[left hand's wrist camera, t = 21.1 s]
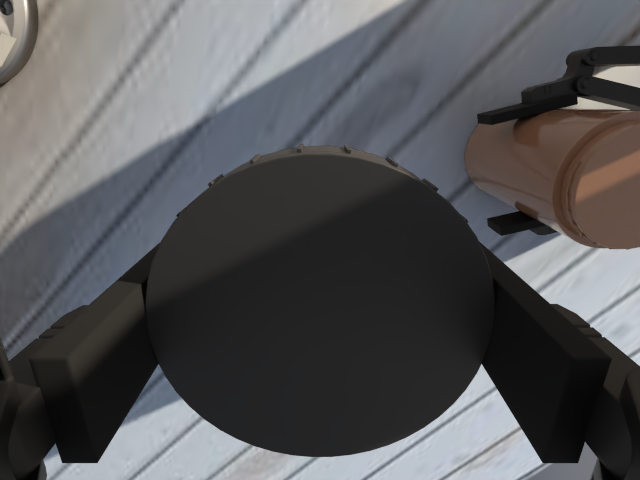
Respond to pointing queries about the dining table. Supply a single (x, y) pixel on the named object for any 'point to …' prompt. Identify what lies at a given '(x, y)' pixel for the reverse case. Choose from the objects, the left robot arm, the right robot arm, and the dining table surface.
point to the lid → (320, 302)
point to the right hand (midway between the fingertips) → (489, 175)
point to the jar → (566, 171)
